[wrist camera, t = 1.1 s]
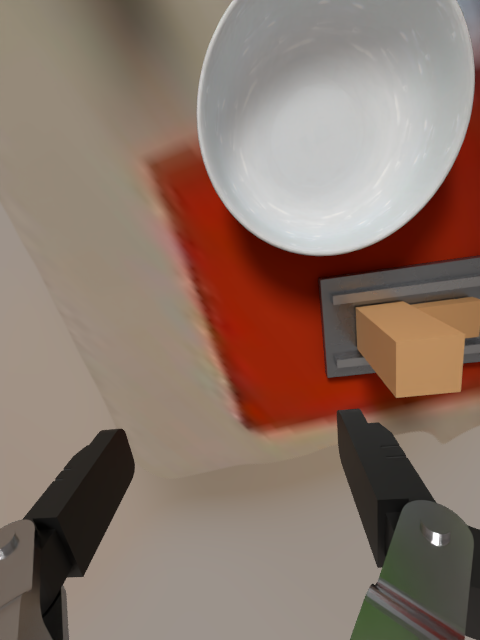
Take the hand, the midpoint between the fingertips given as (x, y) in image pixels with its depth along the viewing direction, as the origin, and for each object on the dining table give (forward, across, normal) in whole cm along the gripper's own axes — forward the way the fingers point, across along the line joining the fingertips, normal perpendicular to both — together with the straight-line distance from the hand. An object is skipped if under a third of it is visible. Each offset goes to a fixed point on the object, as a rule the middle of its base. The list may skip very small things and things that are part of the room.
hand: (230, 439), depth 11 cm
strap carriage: (+23, +17, -5) cm, 29 cm away
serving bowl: (+24, +8, +14) cm, 30 cm away
